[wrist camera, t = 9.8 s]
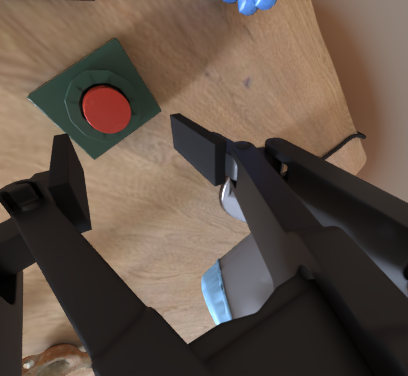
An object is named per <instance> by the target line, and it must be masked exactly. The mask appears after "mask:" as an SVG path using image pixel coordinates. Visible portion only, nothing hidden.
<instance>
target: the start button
mask: <svg viewBox="0 0 408 376" xmlns="http://www.w3.org/2000/svg"><path fill="white" fill-rule="evenodd" d="M83 111H84V114H85V117H86V119H87V121H88V122H89V123H90V125H91V126H93V127H94V128H95V129H97V130H99V131H101V132H104V133H116V132H119V131H121V130H123V129H124V128H125V127H126V126H127V125H128V123H129V121H130V118H131V109H130V105H129V103H128V101H127V100H126V98H125V97H124V96H123V95H122V94H121V93H120V92H118V91H117V90H116V89H114V88H112V87H109V86H96V87H93V88H91V89H90V90H89V91H88V92H87V93H86V94H85V96H84V98H83Z"/></svg>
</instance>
